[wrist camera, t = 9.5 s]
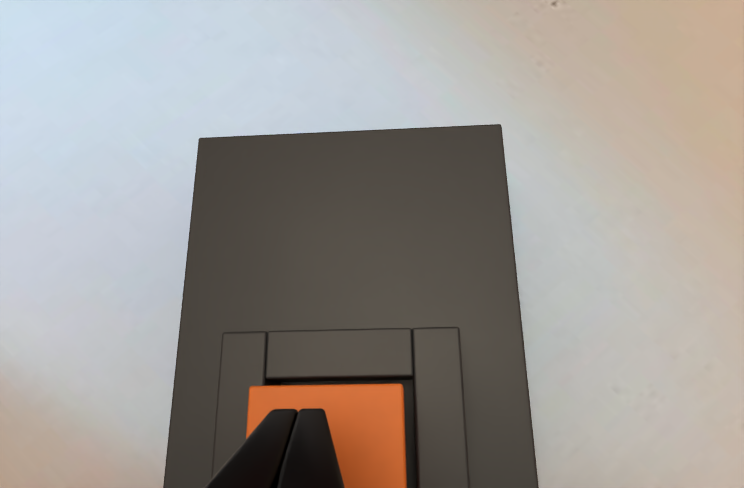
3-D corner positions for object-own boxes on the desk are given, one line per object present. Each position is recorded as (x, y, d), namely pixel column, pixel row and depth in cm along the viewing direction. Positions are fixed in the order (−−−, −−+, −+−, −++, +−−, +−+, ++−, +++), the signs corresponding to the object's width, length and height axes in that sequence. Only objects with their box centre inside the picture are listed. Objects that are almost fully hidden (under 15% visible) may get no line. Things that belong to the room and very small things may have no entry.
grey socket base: (514, 541, 16) (571, 612, 11) (212, 540, 17) (114, 607, 11) (483, 178, 20) (512, 90, 15) (238, 188, 21) (174, 107, 15)
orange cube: (408, 531, 12) (408, 563, 9) (272, 531, 12) (238, 562, 10) (403, 387, 13) (402, 383, 10) (277, 389, 13) (248, 385, 11)
